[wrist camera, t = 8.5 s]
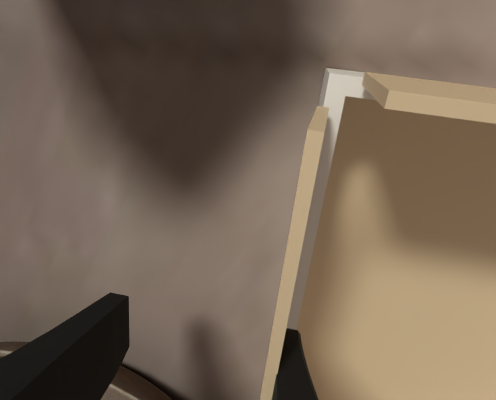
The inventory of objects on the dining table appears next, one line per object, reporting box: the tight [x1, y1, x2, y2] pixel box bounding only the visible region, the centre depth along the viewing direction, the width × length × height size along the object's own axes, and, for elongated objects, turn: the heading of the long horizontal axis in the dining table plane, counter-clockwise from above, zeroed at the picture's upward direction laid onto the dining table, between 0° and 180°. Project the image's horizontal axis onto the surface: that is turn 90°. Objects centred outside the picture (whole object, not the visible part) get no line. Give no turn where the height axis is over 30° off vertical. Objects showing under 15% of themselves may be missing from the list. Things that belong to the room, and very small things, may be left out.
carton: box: [287, 68, 496, 400], centre depth 13 cm, size 15×16×3 cm
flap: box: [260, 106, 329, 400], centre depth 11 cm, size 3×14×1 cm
